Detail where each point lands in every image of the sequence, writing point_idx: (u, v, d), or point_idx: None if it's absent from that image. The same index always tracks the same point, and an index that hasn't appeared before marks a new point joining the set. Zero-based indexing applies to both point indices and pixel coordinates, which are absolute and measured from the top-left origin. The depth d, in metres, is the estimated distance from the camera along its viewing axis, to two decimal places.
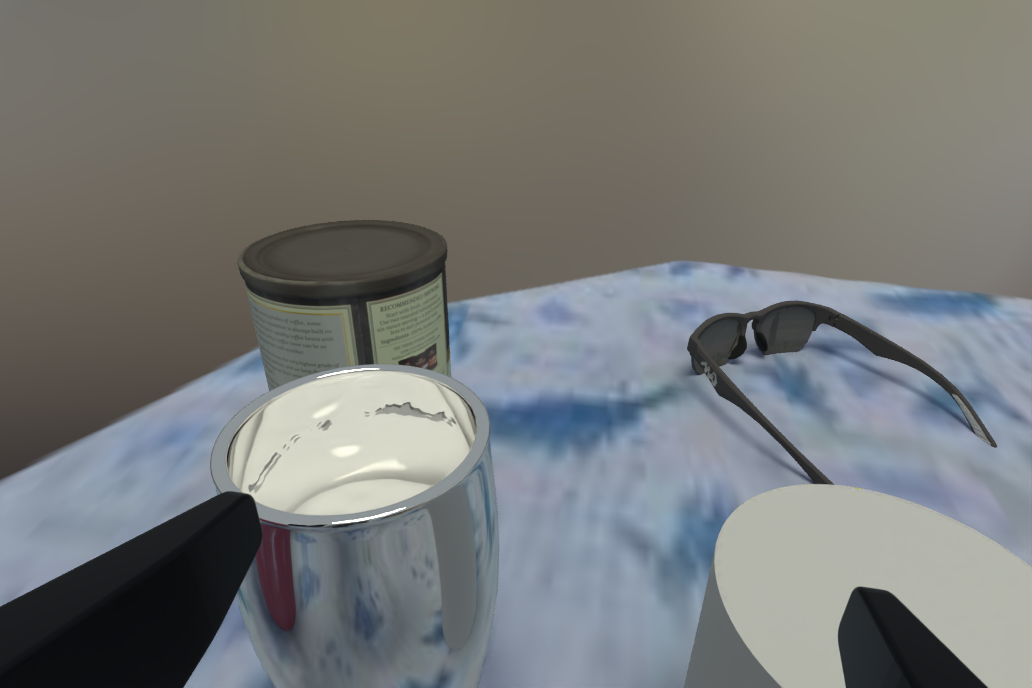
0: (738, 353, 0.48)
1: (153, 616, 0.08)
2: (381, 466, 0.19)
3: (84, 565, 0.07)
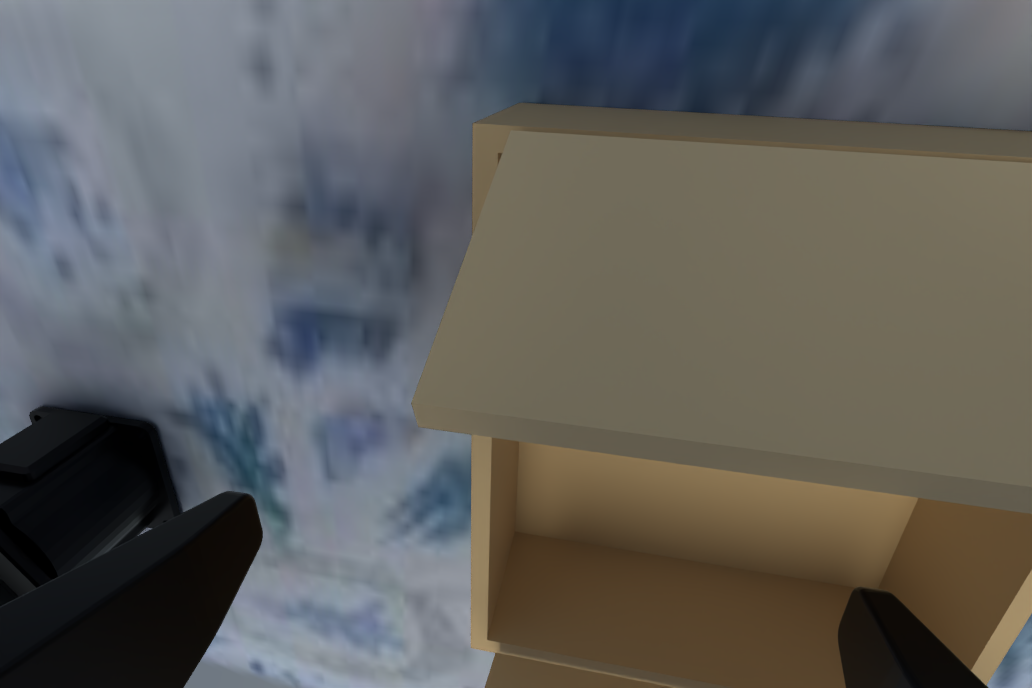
0: None
1: (153, 616, 0.08)
2: None
3: (84, 565, 0.07)
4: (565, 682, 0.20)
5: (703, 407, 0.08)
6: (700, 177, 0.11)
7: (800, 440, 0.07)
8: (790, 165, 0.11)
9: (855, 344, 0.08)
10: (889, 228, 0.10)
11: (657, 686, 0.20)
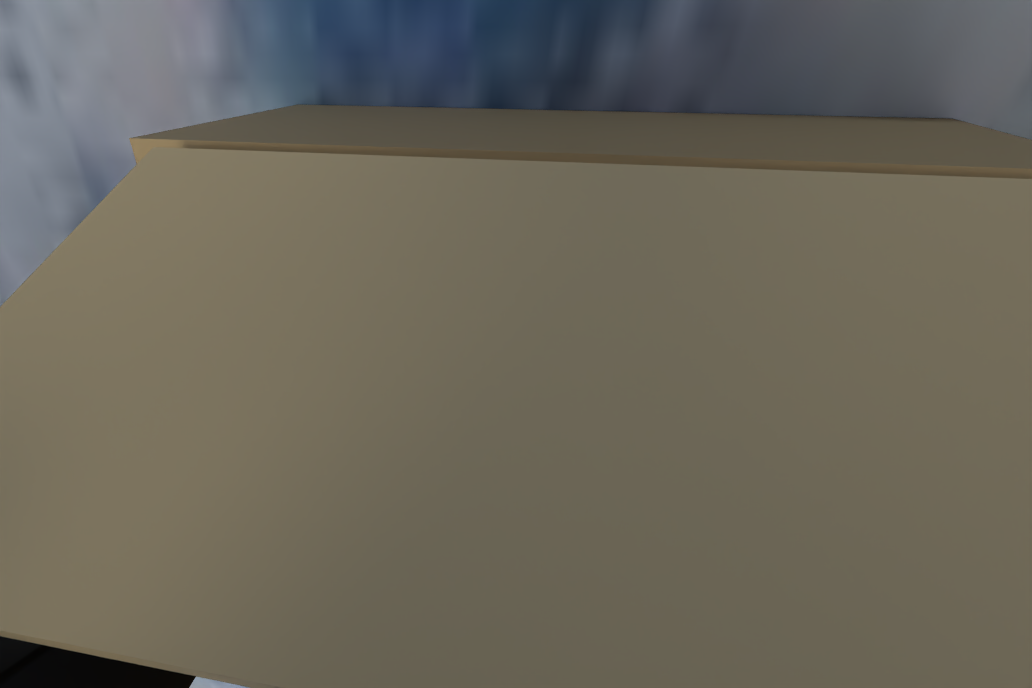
0: None
1: None
2: None
3: None
4: None
5: (127, 582, 0.05)
6: (342, 205, 0.09)
7: (230, 643, 0.05)
8: (465, 184, 0.09)
9: (399, 466, 0.06)
10: (543, 275, 0.07)
11: None
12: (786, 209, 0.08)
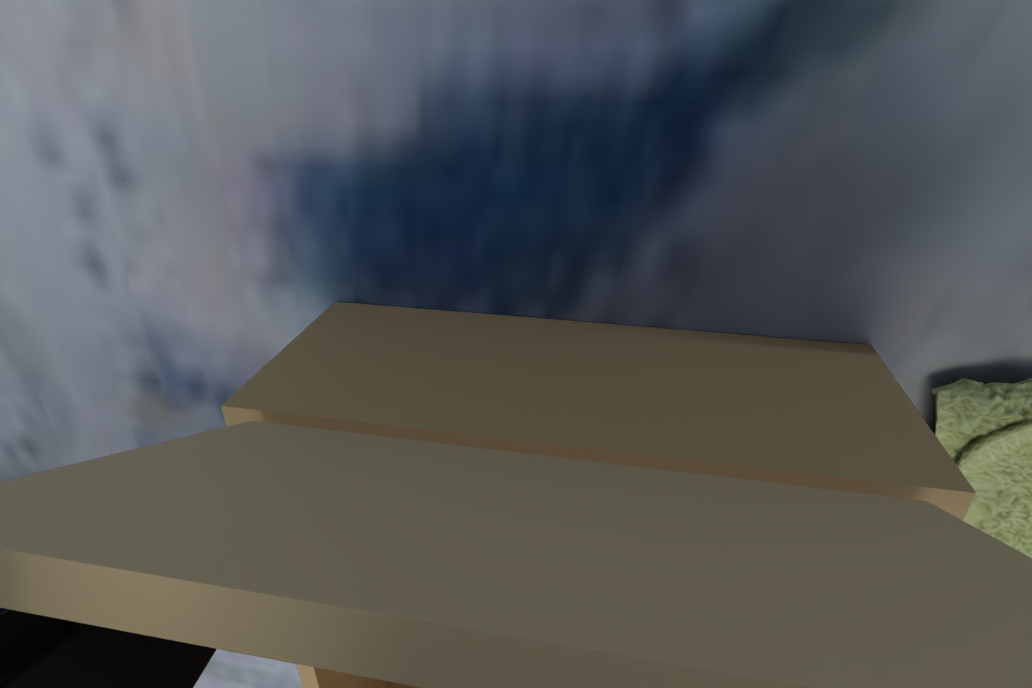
0: None
1: None
2: None
3: None
4: None
5: (201, 555, 0.06)
6: (394, 452, 0.11)
7: (289, 586, 0.06)
8: (486, 455, 0.12)
9: (437, 535, 0.07)
10: (546, 487, 0.10)
11: None
12: (718, 487, 0.11)
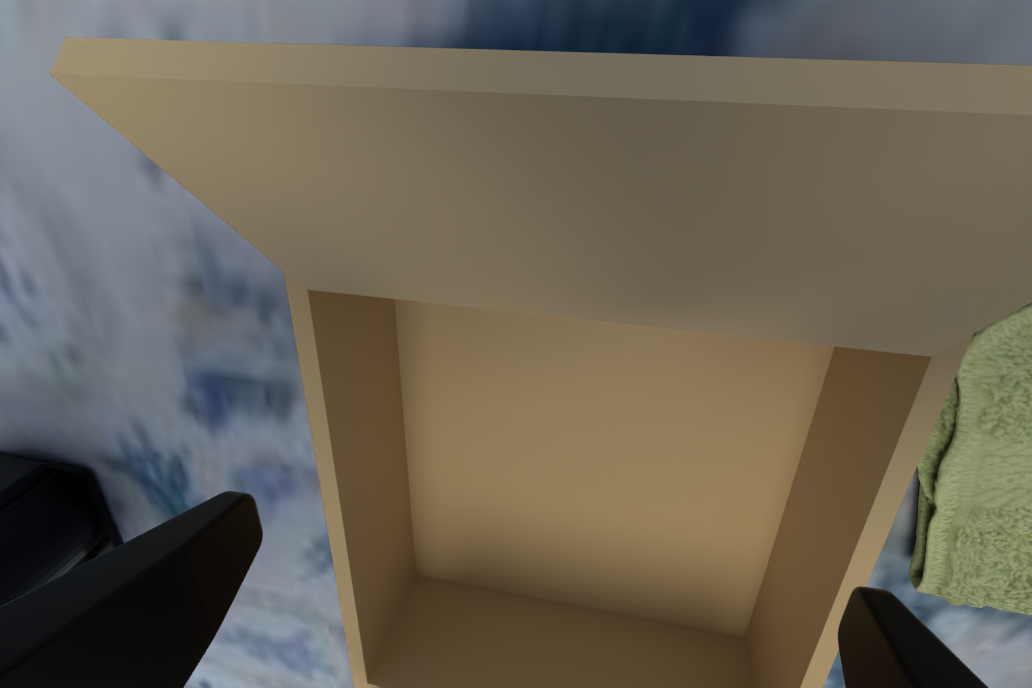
0: None
1: (153, 616, 0.08)
2: None
3: (85, 565, 0.07)
4: None
5: None
6: None
7: None
8: None
9: None
10: None
11: None
12: None
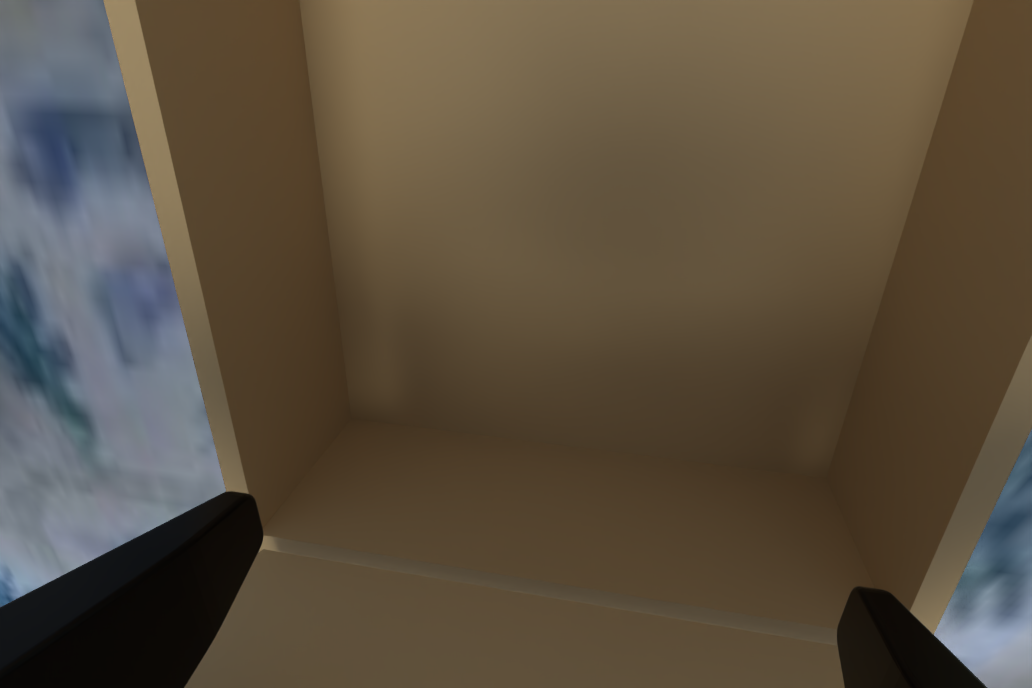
0: None
1: (154, 616, 0.08)
2: None
3: (85, 566, 0.07)
4: (344, 583, 0.13)
5: None
6: None
7: None
8: None
9: None
10: None
11: (483, 588, 0.13)
12: None
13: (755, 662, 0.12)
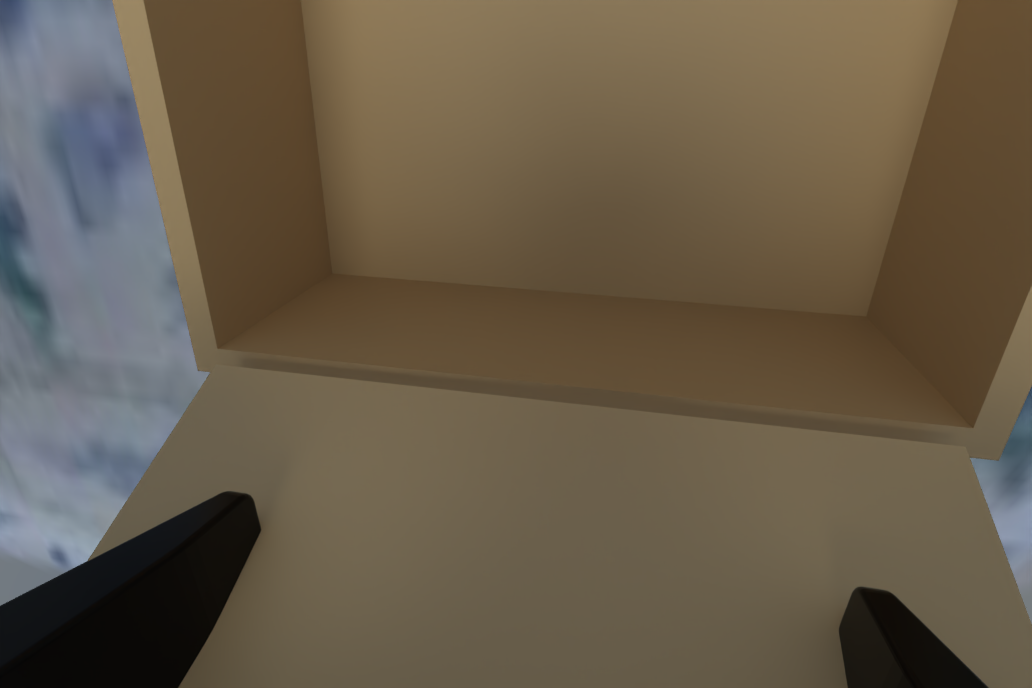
0: None
1: (152, 616, 0.08)
2: None
3: (84, 565, 0.07)
4: (314, 410, 0.11)
5: None
6: None
7: None
8: None
9: None
10: None
11: (477, 398, 0.11)
12: None
13: (801, 481, 0.10)
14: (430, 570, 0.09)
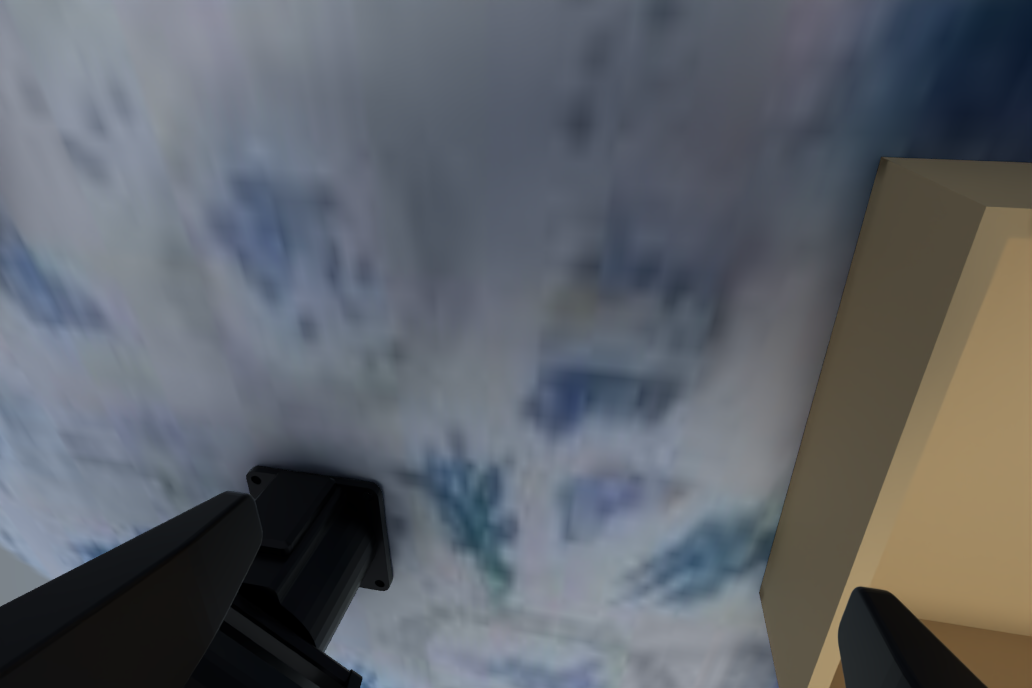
0: None
1: (153, 616, 0.08)
2: None
3: (84, 565, 0.07)
4: None
5: None
6: None
7: None
8: None
9: None
10: None
11: None
12: None
13: None
14: None
